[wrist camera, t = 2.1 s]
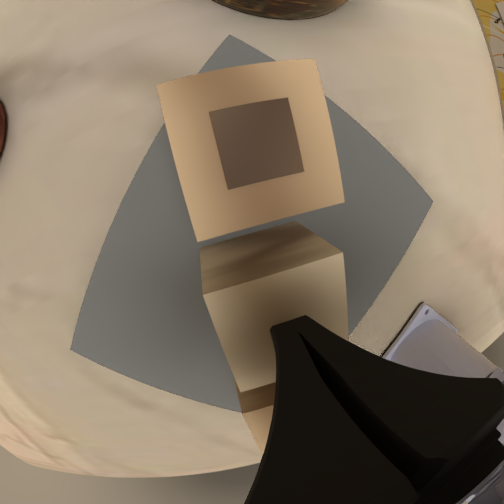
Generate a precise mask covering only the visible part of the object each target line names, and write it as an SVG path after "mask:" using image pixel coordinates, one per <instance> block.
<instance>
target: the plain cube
mask: <svg viewBox="0 0 504 504" xmlns="http://www.w3.org/2000/svg"><path fill="white" fill-rule="evenodd" d="M200 264H201V279H202V292H203V297H204V300H205V303H206V305H207V308H208V311H209V314H210V316H211V319H212V322H213V325H214V327H215V330H216V333H217V335H218V338H219V340H220V343H221V346H222V348H223V351H224V353H225V356H226V358H227V361H228V363H229V366H230V368H231V371H232V373H233V376H234V378H235V380H236V383H237V385H238V387H239V390H240V392H243V391H247V390H250V389H254V388H257V387H261V386H264V385H267V384H270V383H274V382H276V354H275V350H274V346H273V342H272V338H271V334H270V328H271V327H272V326H274V325H277V324H280V323H283V322H286V321H289V320H292V319H295V318H298V317H301V316H304V315H307V316H309V317H310V318H312V319H313V320H315V321H316V322H318V323H319V324H321V325H322V326H324V327H325V328H327V329H328V330H330V331H332V332H333V333H335V334H337V335H338V336H340V337H342V338H343V339H345V340H347V341H349V337H348V311H347V294H346V280H345V268H344V257H343V252H342V251H340V250H339V249H337V248H336V247H334V246H333V245H331V244H330V243H329V242H327V241H326V240H324V239H323V238H321V237H320V236H318V235H316V234H315V233H313V232H312V231H310V230H309V229H307V228H306V227H304V226H303V225H301V224H300V223H298V222H297V221H293V222H289V223H286V224H282V225H278V226H275V227H271V228H267V229H264V230H260V231H257V232H253V233H249V234H246V235H242V236H239V237H235V238H232V239H228V240H225V241H221V242H218V243H214V244H211V245H207V246H204V247H200Z"/></svg>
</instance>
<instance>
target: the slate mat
mask: <svg viewBox="0 0 504 504" xmlns="http://www.w3.org/2000/svg"><path fill="white" fill-rule="evenodd" d="M274 61H275V60H273V59H272V58H270V57H269V56H267V55H265V54H264V53H262V52H260V51H259V50H257V49H255V48H253V47H252V46H250V45H248V44H246V43H245V42H243V41H241V40H239V39H237V38H235V37H233V36H232V35H230V34H229V36H228V37H227V38H226V39H225V40H224V41H223V43H222V44H221V45H220V46H219V47H218V49H217V50H216V51H215V52H214V54H213V55H212V56H211V57H210V59H209V60H208V61H207V63H206V64H205V65H204V66H203V68H202V69H201V70H200V72H199V73H198V74H200V73H204V72H209V71H214V70H219V69H224V68H230V67H236V66H242V65H249V64H256V63H265V62H274ZM324 96H325V95H324ZM325 100H326V104H327V108H328V112H329V117H330V121H331V126H332V131H333V136H334V141H335V146H336V151H337V156H338V162H339V168H340V174H341V180H342V186H343V193H344V200H345V202H344V203H340V204H336V205H332V206H328V207H324V208H320V209H316V210H313V211H309V212H305V213H301V214H297V215H294V216H290V217H286V218H282V219H279V220H275V221H271V222H268V223H264V224H260V225H257V226H253V227H249V228H246V229H242V230H239V231H235V232H231V233H228V234H224V235H221V236H217V237H214V238H210V239H207V240H203V241H200V242H197V239H196V236H195V232H194V229H193V226H192V222H191V219H190V215H189V212H188V208H187V205H186V201H185V198H184V194H183V191H182V187H181V183H180V180H179V176H178V172H177V169H176V165H175V161H174V157H173V153H172V149H171V145H170V141H169V137H168V133H167V129H166V125H165V123H164V125H163V126H162V128H161V130H160V131H159V133H158V135H157V136H156V138H155V140H154V142H153V143H152V145H151V147H150V148H149V150H148V152H147V154H146V156H145V157H144V159H143V161H142V163H141V165H140V167H139V169H138V170H137V172H136V174H135V176H134V178H133V180H132V182H131V184H130V186H129V188H128V190H127V192H126V194H125V196H124V198H123V200H122V203H121V205H120V207H119V209H118V211H117V213H116V216H115V218H114V220H113V223H112V225H111V227H110V229H109V232H108V234H107V237H106V239H105V242H104V244H103V247H102V249H101V252H100V254H99V257H98V260H97V262H96V265H95V268H94V271H93V273H92V276H91V279H90V282H89V285H88V288H87V291H86V294H85V297H84V301H83V304H82V307H81V310H80V314H79V317H78V321H77V325H76V328H75V332H74V336H73V340H72V344H71V349H70V350H72V351H74V352H76V353H78V354H80V355H82V356H84V357H86V358H88V359H90V360H92V361H94V362H96V363H98V364H100V365H102V366H104V367H107V368H109V369H111V370H113V371H115V372H118V373H120V374H122V375H125V376H127V377H130V378H132V379H135V380H137V381H140V382H142V383H145V384H147V385H150V386H153V387H155V388H158V389H161V390H164V391H167V392H170V393H173V394H176V395H179V396H182V397H185V398H188V399H192V400H195V401H198V402H202V403H205V404H209V405H213V406H216V407H220V408H224V409H228V410H232V411H237V412H241V413H242V411H241V407H240V403H239V398H238V394H237V390H236V385H235V381H234V376H233V373H232V371H231V368H230V366H229V363H228V361H227V358H226V356H225V353H224V351H223V348H222V346H221V343H220V340H219V338H218V335H217V333H216V330H215V327H214V325H213V322H212V319H211V316H210V314H209V311H208V308H207V305H206V303H205V300H204V297H203V292H202V279H201V264H200V247H204V246H207V245H211V244H214V243H218V242H221V241H225V240H228V239H232V238H235V237H239V236H242V235H246V234H249V233H253V232H257V231H260V230H264V229H267V228H271V227H275V226H278V225H282V224H286V223H289V222H293V221H297V222H298V223H300V224H301V225H303V226H304V227H306V228H307V229H309V230H310V231H312V232H313V233H315V234H316V235H318V236H320V237H321V238H323V239H324V240H326V241H327V242H329V243H330V244H331V245H333V246H334V247H336V248H337V249H339V250H340V251H342V252H343V257H344V268H345V280H346V294H347V311H348V336H349V335H350V334H351V332H352V331H353V330H354V328H355V327H356V326H357V324H358V323H359V322H360V320H361V319H362V318H363V316H364V315H365V314H366V312H367V311H368V309H369V308H370V306H371V305H372V304H373V302H374V301H375V299H376V298H377V296H378V295H379V293H380V292H381V290H382V289H383V287H384V286H385V284H386V283H387V281H388V280H389V278H390V277H391V275H392V274H393V272H394V270H395V269H396V267H397V266H398V264H399V262H400V261H401V259H402V257H403V256H404V254H405V252H406V251H407V249H408V247H409V246H410V244H411V242H412V240H413V239H414V237H415V235H416V233H417V231H418V230H419V228H420V226H421V224H422V222H423V220H424V218H425V217H426V215H427V213H428V211H429V209H430V207H431V205H432V203H433V200H432V199H431V198H430V197H429V195H428V194H427V193H426V192H425V191H424V190H423V188H422V187H421V186H420V185H419V184H418V183H417V181H416V180H415V179H414V178H413V177H412V176H411V175H410V174H409V172H408V171H407V170H406V169H405V168H404V167H403V166H402V165H401V164H400V163H399V162H398V161H397V160H396V159H395V158H394V157H393V156H392V155H391V154H390V153H389V152H388V151H387V150H386V149H385V148H384V147H383V146H382V145H381V144H380V143H379V142H378V141H377V140H376V139H375V138H374V137H373V136H372V135H371V134H370V133H369V132H368V131H367V130H365V129H364V128H363V127H362V126H361V125H360V124H359V123H358V122H356V121H355V120H354V119H353V118H352V117H351V116H350V115H348V114H347V113H346V112H345V111H344V110H342V109H341V108H340V107H339V106H338V105H336V104H335V103H334V102H333V101H331V100H330V99H329V98H327V97H326V96H325Z"/></svg>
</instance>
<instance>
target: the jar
mask: <svg viewBox="0 0 504 504" xmlns="http://www.w3.org/2000/svg"><path fill="white" fill-rule="evenodd" d="M214 1H216V2H218V3H220V4H222V5H225V6H227V7H230V8H232V9H235V10H238V11H242V12H245V13H249V14H253V15H257V16H262V17H269V18H277V19H307V18H314V17H318V16H322V15H325V14H328V13H330V12H332V11H334V10H336V9H338V8H339V7H341V6H342V5H343V4H345V3H346V2H348V1H349V0H214Z"/></svg>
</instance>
